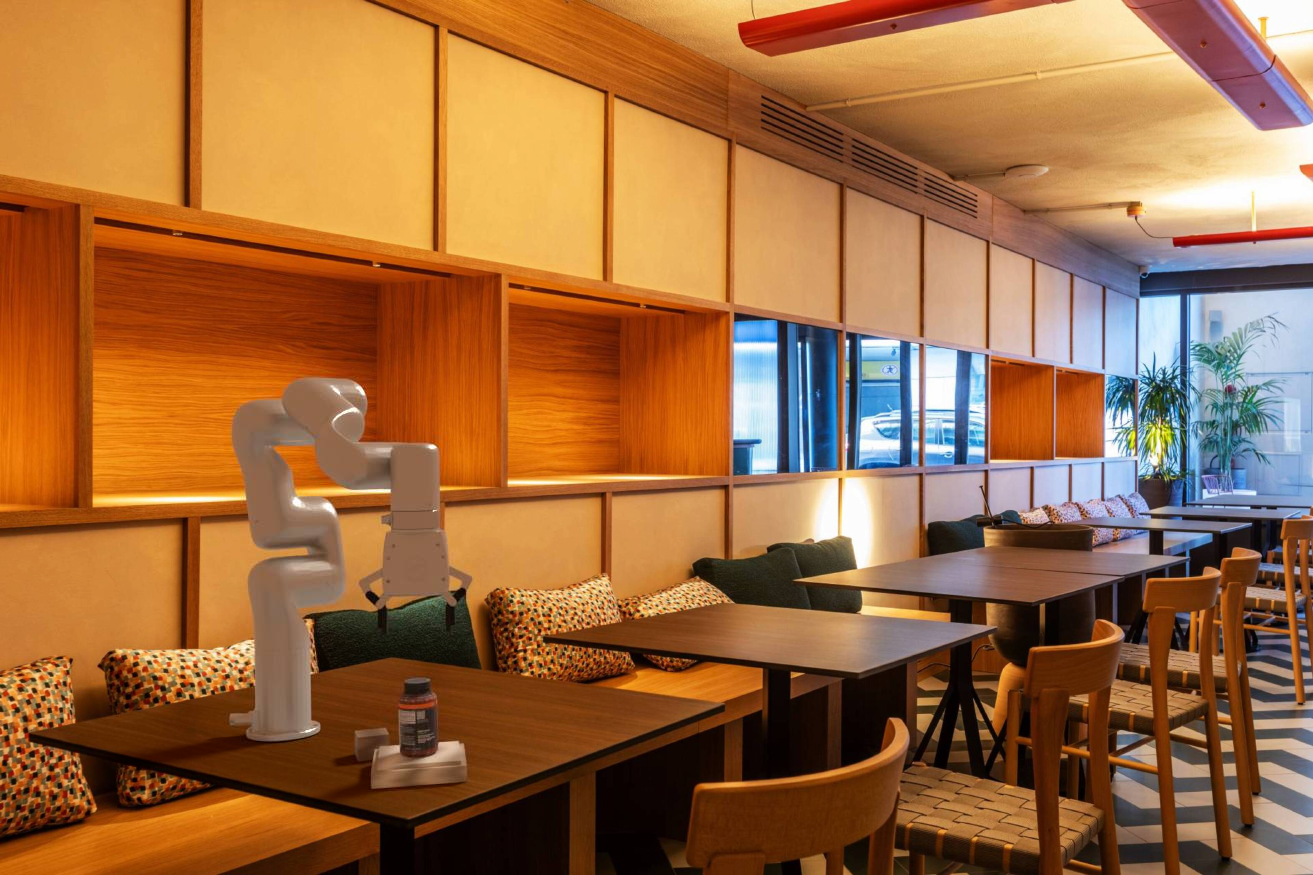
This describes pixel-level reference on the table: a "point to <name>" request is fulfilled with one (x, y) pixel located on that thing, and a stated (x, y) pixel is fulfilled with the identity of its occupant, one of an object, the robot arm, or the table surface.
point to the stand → (418, 766)
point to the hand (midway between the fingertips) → (416, 632)
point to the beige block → (369, 742)
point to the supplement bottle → (418, 719)
